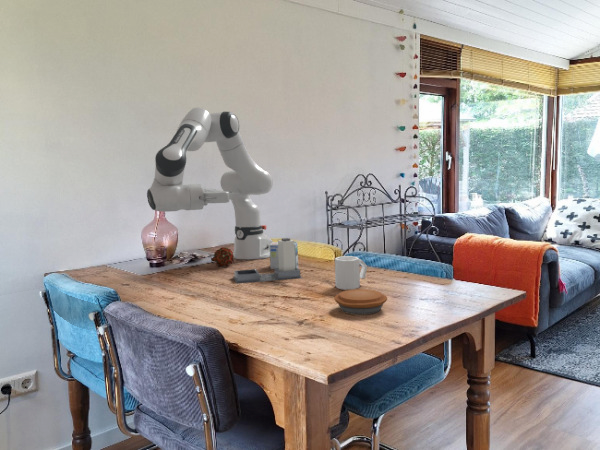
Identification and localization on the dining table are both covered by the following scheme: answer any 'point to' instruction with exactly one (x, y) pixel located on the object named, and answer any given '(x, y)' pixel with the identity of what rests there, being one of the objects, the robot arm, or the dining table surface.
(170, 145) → the robot arm
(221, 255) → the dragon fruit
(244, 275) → the grey double tray
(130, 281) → the dining table surface
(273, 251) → the light bulb box
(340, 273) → the mug
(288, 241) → the white rectangular bottle
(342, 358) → the dining table surface
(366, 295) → the pie
